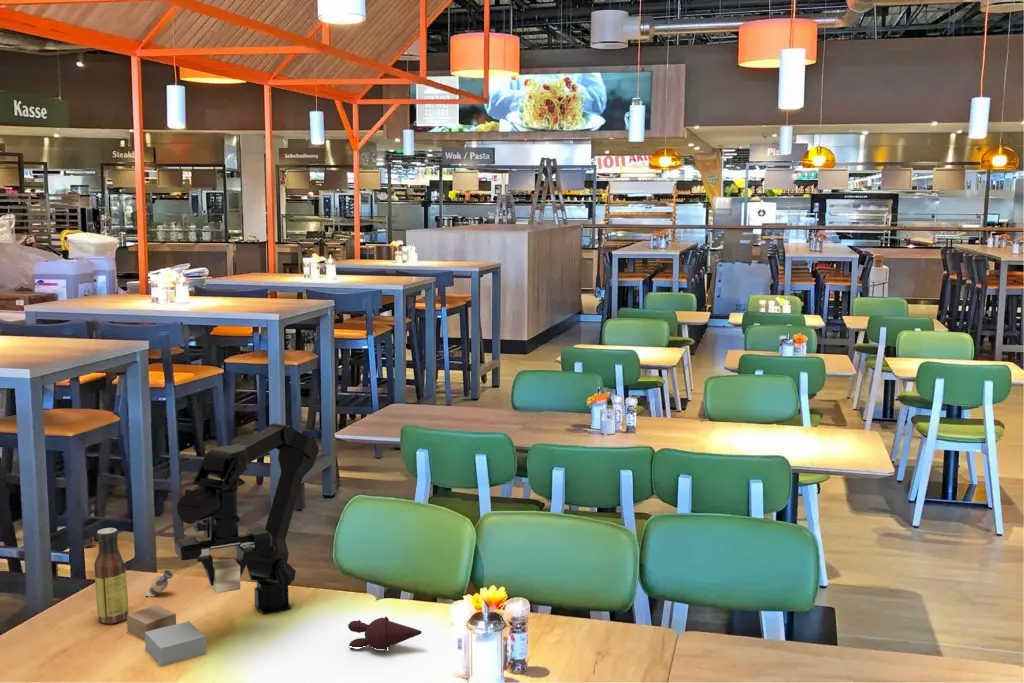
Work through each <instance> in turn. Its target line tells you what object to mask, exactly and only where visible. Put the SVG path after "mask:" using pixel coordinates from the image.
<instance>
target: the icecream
mask: <svg viewBox="0 0 1024 683" xmlns="http://www.w3.org/2000/svg"><path fill="white" fill-rule="evenodd" d="M347 628H348V629H349V631H351V632H354V633H358V634H360V633H364V637H361V638H359V637H358V638H355V639H353V640H351V641H350V642H349V646H352V647H363V646H366V647H368V646H369V647H370V648H371V647H373V648H376V649H385V650H384V651H386V650H387V647H389V648H390V647H392V646H394V645H397V644H399V643H402V642H404V641H406V640H410V639H412V638H414V637H416V636H419V635H421V634H422V630H420V629H417V628H413V627H410V626H406V625H403V624H400V623H397V622H394V621H392V620H390V618H389V617H387V616H384V617H379V618H375V619H374V620H372V621H371V622H370V623H369V624H368V623H365V622H362V621H361V620H360V619H358V620H352V621H349V623H348V625H347ZM367 645H368V646H367ZM349 646H348V647H349ZM373 648H372V649H373Z"/></svg>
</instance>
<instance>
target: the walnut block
mask: <svg viewBox="0 0 1024 683" xmlns="http://www.w3.org/2000/svg"><path fill="white" fill-rule="evenodd" d="M126 624H127V627H126V628H127V631H128V632H127V633H129V632H130V633H129V634H131V633H132V634H131V635H133V634H134V635H133V636H135V637H136V638H138V637H139V638H138V639H140V638H141V640H142V641H144V640H145V632H147V631H151V630H155V629H159V628H163V627H167V626H171V625H175V624H177V613H176V612H174V611H172V610H169V609H167V608H165V607H163V606H161V605H158V604H155V605H151V606H149V607H146V608H143V609H142V608H141V609H140V610H137V611H134V612H130V613H128V615H127V618H126Z"/></svg>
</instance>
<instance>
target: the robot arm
mask: <svg viewBox="0 0 1024 683" xmlns="http://www.w3.org/2000/svg"><path fill="white" fill-rule="evenodd" d="M275 449H276V450H277V451H278V456H277V462H278V465H279V468H280V475H279V478H278V482H277V486H276V489H275V492H274V495H273V498H272V502H271V506H270V509H269V513H268V517H267V520H266V524H265V527H263V526H257V527H250V528H246V531H245V534H239V523H240V519H241V518H240V516H239V487H241V486H244V485H245V483H246V482H245V480H244V479H242V478H241V476H242V475H243V474H244V473H245V472H246V471H247V470H248V467H249V465H250V463H252V462H254V461H255V460H257V459H259V458H261V457H263V456H264V455H266V454H267V453H269V452H272V451H273V450H275ZM319 452H320V447H319V445H318V443H317V441H316V439H315V438H313V437H310V436H307V435H306V434H303V433H302V432H299V431H297V430H296V429H294V428H293V427H292V426H290V425H288V424H283V423H275V422H274V423H271V424H270V423H269V425H268V426H267V427H266V428H264V429H262V430H261V431H259V432H256V433H255V434H253V435H251V436H249V437H247V438H245V439H243V440H242V441H240V442H238V443H235V444H233V445H232V444H231V445H224V446H218V447H215V448H211V449H209V450H208V451H207V452H206V453H205V456H204V458H203V460H202V462H201V465H200V467H199V468H198V471H197V473H196V475H195V477H194V480H193V482H192V484H193V487H189V488H185V490H184V495H182V496H181V497H180V498H179V500H178V502H177V505H176V511H177V514H178V516H179V518H180V520H182V522H184V523H186V524H187V525H191V524H192V525H193V530H194V532H195V533H197V532H198V533H199V532H203V535H204V536H205V537H206V539H207V540H202V541H199V540H198V539H197V538H196V537H195V536H194V537H193V536H192V537H186V538H180V539H177V541H176V542H175V544H174V553H175V554H176V555H177V556H178V558H179V559H180V560H181V561H190V560H196V562H199V563H201V564H202V567H203V569H204V571H205V574H206V577H207V579H208V581H209V582H210V583H209V585H210V584H211V586H213V584H214V572H213V562H214V559H213V556H212V555H211V554H210V550H216V549H222V548H223V549H224V548H229V547H235V551H236V560H235V561H236V562H237V563H238V564H239V566H240V579H241V577H242V576H243V573H244V570H245V568H246V569H247V571H248V574H249V577H250V581H255V582H256V587H254V606H255V607H256V608H257V610H259V611H260V612H261V614H263V615H267V614H271V613H277V612H280V611H287V610H290V609H292V606H291V604H290V603H289V586H290V585H292V582H294V581H295V578H296V573H297V572H296V570H295V568H294V567H292V566H291V564H289V562H288V560H289V556H290V555H289V554H290V553H289V549H288V546H287V542H286V541H287V540H286V538H287V534H288V531H289V527H290V524H291V521H292V516H293V513H294V510H295V506H296V503H297V499H298V496H299V492H300V488H301V484H302V482H303V481H302V480H303V478H304V477H305V475H307V473H309V471H311V469H312V468H313V467H314V465H315V462H316V460H317V458H318V455H319ZM209 477H210V478H209ZM216 478H217V479H216ZM221 479H222V480H221ZM208 538H209V540H208Z"/></svg>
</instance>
